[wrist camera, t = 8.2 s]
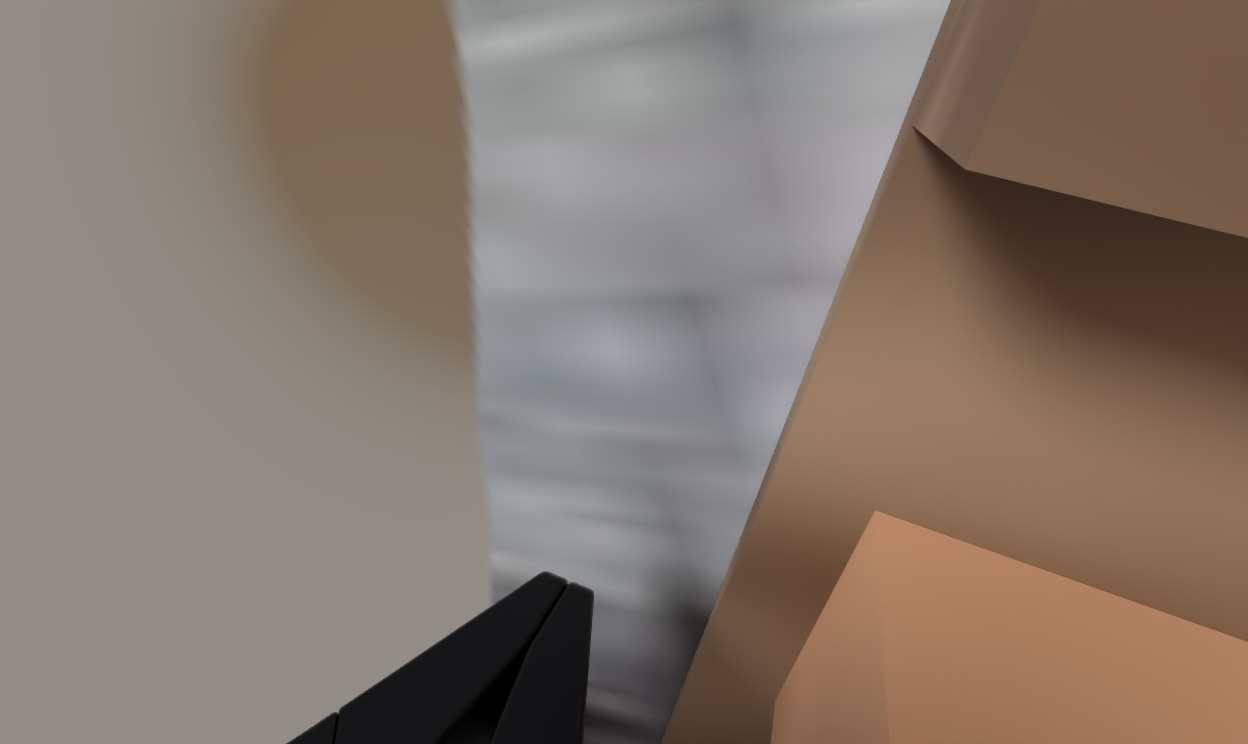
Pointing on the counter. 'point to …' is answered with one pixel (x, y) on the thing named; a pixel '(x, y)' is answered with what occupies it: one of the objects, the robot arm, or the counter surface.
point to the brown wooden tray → (1024, 338)
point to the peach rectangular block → (1000, 657)
